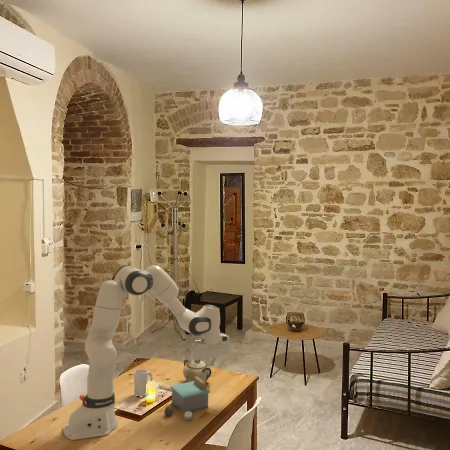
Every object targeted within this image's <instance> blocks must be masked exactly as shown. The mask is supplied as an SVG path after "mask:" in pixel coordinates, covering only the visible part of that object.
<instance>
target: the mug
mask: <svg viewBox="0 0 450 450" xmlns="http://www.w3.org/2000/svg"><path fill="white" fill-rule="evenodd" d="M148 377H149V378H148ZM133 378H134V379H133V380H134V381H133V384H134V387H133V389H134V391H133V393H134V396H135V395H137V396H145V393H146V384H147V382H148V380H149V379H150V380H149V382H150V381H152V382H153V378H154V377H153V374H152V372H151V371H148V370H147V369H145V368H144V369H143V368H141V369H135V370H134V371H133ZM149 382H148V383H149ZM145 397H146V396H145Z"/></svg>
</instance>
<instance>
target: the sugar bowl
mask: <svg viewBox="0 0 450 450" xmlns="http://www.w3.org/2000/svg"><path fill="white" fill-rule="evenodd" d="M183 365H184V367H183V370H182V373H183V376H184V379H185V380H186V381H187V382H192V381H194V377H196V376H197V377H199V378H200V379H201V380H203V381H204V382H205V383H206V382H207V381H208V380H209V378H210V377H211V375H212V368H211V366H208V365H207V361H203V360H202V359H200V360H189V359H184V361H183Z"/></svg>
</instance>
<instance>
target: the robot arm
mask: <svg viewBox="0 0 450 450" xmlns="http://www.w3.org/2000/svg"><path fill="white" fill-rule="evenodd" d="M179 290H180V289H179V287H178V285H177V283H176V282H175V281H174V279H173V278H172V277H171V276H170V275H169V274H168V273H167V272H166V271H165V270H164V269H163V268H161V267H160V266H158V265H156V264H154V265H150V266H148V267H146V268H145V269H144V270H141V269H139V268H138V267H135V266H133V265H129V264H128V265H123V266H120V267H119V268H118V269H117V270H116V272H115V273H114V275H113V276H112V277H111V279H110V280H105V281H104V282H103V283H102V284H101V286H100V287H99V290H98V293H97V296H96V302H95V304H94V305H95V306H94V309H93V310H94V312H93V316H92V321H91V325H90V328H89V330H88V333H87V337H86V339H85V341H84V351H85V354H86V355H87V359H88V363H89V365H88V373H87V377H86V385H87V386H86V390H87V391H86V395H84V394H80V396H78V397H79V400H80V401H82V404H81V405H80V406H78V407H77V408H76V409H74V411H72V412H71V413H70V415H69V418H68V423H65V424H64V425H63V427H62V432H63V435H64V436H65V437H66V438H67V439H68V440H70V441H75V440H83V439H88V438H89V439H90V438H96V437H103V436H108V435H110V433H111V432H112V431H113V430H115V429H116V428H117V426H118V421H117V417H116V413H115V405H116V404H115V403H116V396H115V395H116V394H115V392H114V380H115V379H114V378H115V377H114V374H115V369H116V362H117V359H118V358H117V357H118V355H117V349H116V347H115V345H114V344H113V339H114V335H115V333H116V330H117V328H118V326H119V322H120V318H121V312H122V309H123V308H122V307H123V301H124V298H125V297H126V295H127V294H128V293H129V294H130V295H132V296H141V295H143V294H145V293H146V292H150V293H151V294H152V295H153V296H154V298H156V299H157V300H158V301H159V302H160V303H162V304H163V305H165V306H166V308H167V309H168V310H169V311H170V312H171V314H172V315H173V317H174V319H175V323H176V325H177V327H178V328H179V329H181V330H183V331H186V332H187V333H189V334H190V335H193V336H199V335H201V339H198V340H194V341H193V342H192V343H191V352H190V357H191V359H192V360H193V361H195V360H200V359H201V360H205V362H206V363H207V365H208V366H210V367H213V366H215V363H216V360H217V357H220V356H226V355H229V354H230V353H231V343H230V336H229V335H227V334H225V333H223V332H221V330H220V329H221V328H220V325H221V313H220V309H219V307H217V306H215V305H212V304H204V305H203V306H202V308H201V309H199V310H198V311H196V312H195V311H194V310H191V309H189V308H186V307H185V306H184V305H183V304H182V302H181V301H180V300H179V299H178V296H179V292H180V291H179ZM211 358H212V359H211ZM201 360H200V361H201Z"/></svg>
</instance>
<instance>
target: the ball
mask: <svg viewBox="0 0 450 450" xmlns="http://www.w3.org/2000/svg"><path fill="white" fill-rule="evenodd" d="M164 414H165V415H166V416H167V417H169V416H172V415H173V414H174V409H173V406H172V407H171V406H167V407H165V408H164Z"/></svg>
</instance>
